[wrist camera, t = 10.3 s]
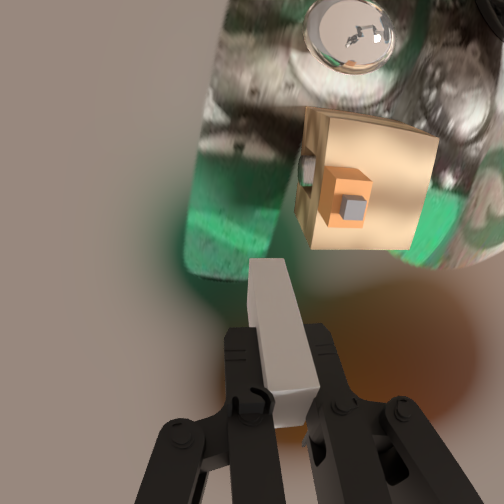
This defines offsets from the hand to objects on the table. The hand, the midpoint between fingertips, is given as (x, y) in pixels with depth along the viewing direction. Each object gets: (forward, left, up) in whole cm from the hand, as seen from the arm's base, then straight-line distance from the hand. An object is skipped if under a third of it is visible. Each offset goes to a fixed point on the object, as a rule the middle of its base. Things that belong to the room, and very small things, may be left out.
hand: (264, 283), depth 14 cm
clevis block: (0, +12, -20) cm, 23 cm away
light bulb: (-13, +7, -20) cm, 25 cm away
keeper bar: (0, +8, -12) cm, 14 cm away
